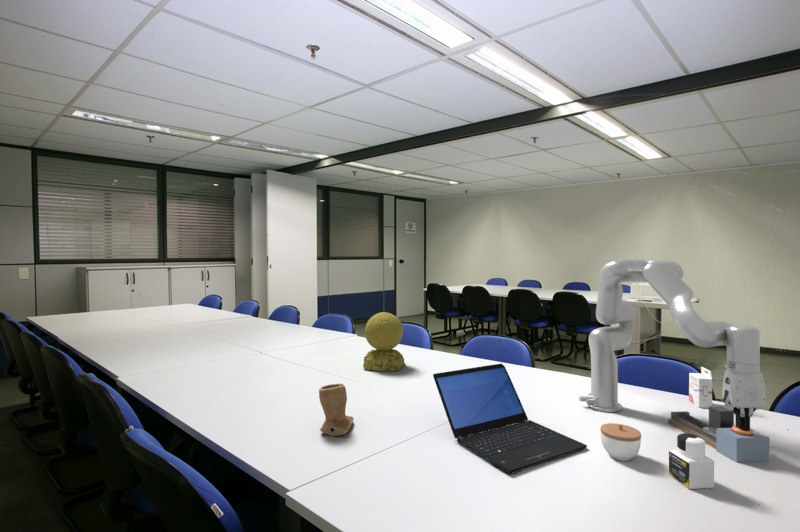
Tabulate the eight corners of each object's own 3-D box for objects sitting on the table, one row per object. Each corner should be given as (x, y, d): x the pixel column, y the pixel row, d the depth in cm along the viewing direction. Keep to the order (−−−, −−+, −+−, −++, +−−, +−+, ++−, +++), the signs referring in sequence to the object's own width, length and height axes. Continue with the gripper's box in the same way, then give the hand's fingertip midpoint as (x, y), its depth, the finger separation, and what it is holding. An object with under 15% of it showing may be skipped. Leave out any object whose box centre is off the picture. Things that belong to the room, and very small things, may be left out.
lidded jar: (592, 451, 126) (592, 421, 126) (617, 445, 130) (617, 415, 130) (623, 467, 116) (623, 434, 116) (649, 460, 120) (649, 428, 120)
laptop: (508, 478, 111) (508, 406, 111) (431, 428, 144) (431, 373, 144) (589, 450, 127) (589, 388, 127) (503, 411, 160) (503, 362, 160)
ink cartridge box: (688, 400, 171) (688, 365, 171) (701, 401, 170) (701, 365, 170) (698, 407, 163) (698, 370, 162) (712, 408, 162) (713, 371, 161)
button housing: (736, 462, 119) (736, 438, 119) (716, 451, 126) (716, 428, 126) (769, 461, 119) (769, 437, 119) (747, 450, 126) (747, 427, 126)
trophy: (359, 370, 219) (359, 314, 218) (369, 361, 240) (368, 309, 240) (400, 372, 215) (400, 315, 215) (407, 362, 237) (407, 310, 236)
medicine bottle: (668, 475, 112) (668, 431, 112) (692, 473, 112) (693, 430, 112) (688, 489, 105) (689, 442, 105) (714, 488, 105) (715, 441, 105)
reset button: (741, 445, 120) (741, 432, 120) (727, 438, 125) (727, 425, 125) (757, 444, 120) (757, 432, 120) (742, 437, 125) (742, 425, 125)
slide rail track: (719, 450, 126) (719, 438, 126) (668, 422, 148) (668, 411, 148) (744, 450, 126) (744, 437, 126) (689, 422, 148) (689, 411, 148)
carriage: (718, 443, 127) (718, 412, 127) (702, 435, 133) (703, 405, 133) (739, 443, 127) (740, 411, 127) (723, 435, 133) (723, 405, 133)
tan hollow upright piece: (325, 419, 152) (324, 378, 152) (356, 421, 150) (356, 380, 150) (311, 437, 137) (310, 392, 137) (346, 438, 135) (345, 393, 135)
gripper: (729, 371, 118) (729, 435, 118) (779, 370, 119) (778, 433, 119) (708, 364, 126) (708, 424, 126) (755, 363, 126) (754, 423, 127)
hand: (742, 428), depth 122 cm, fingers closed
